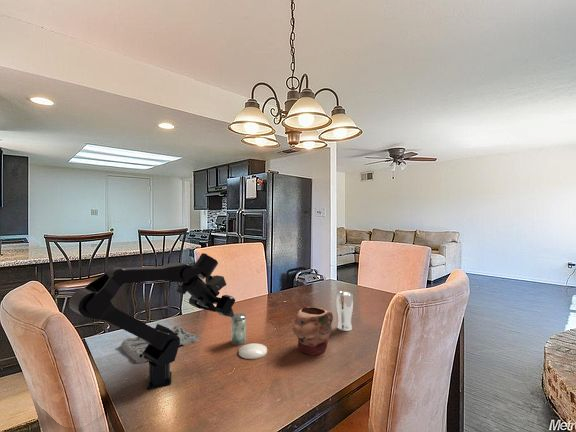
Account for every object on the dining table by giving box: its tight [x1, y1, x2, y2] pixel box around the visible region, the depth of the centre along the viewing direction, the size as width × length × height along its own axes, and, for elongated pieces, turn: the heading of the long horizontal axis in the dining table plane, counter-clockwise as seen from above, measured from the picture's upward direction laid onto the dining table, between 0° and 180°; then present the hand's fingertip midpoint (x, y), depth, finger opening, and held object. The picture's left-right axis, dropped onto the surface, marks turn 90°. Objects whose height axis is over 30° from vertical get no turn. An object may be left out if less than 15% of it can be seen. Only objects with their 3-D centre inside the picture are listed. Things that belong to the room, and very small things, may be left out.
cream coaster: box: [238, 343, 268, 360], centre depth 102 cm, size 10×10×1 cm
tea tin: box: [230, 312, 247, 346], centre depth 110 cm, size 6×6×10 cm
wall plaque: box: [120, 325, 200, 364], centre depth 108 cm, size 24×19×4 cm
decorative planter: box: [292, 306, 334, 356], centre depth 105 cm, size 20×12×14 cm, turn 138°
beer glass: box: [336, 290, 354, 332], centre depth 123 cm, size 7×7×15 cm
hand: (224, 313), depth 104 cm, fingers open, 9 cm apart
